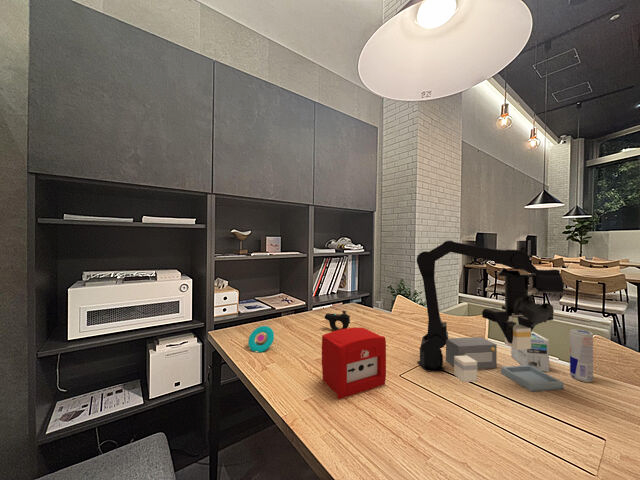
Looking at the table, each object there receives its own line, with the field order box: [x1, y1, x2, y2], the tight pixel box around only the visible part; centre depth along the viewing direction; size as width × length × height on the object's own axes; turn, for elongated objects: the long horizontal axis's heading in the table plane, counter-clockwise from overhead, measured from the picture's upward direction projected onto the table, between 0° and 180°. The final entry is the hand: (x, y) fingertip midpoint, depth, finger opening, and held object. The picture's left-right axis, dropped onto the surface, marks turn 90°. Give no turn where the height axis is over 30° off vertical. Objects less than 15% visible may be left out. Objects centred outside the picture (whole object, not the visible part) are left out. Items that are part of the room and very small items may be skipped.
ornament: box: [248, 325, 275, 353], centre depth 103 cm, size 11×4×10 cm
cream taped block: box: [504, 323, 531, 350], centre depth 78 cm, size 5×5×6 cm
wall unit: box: [445, 336, 498, 370], centre depth 90 cm, size 14×8×8 cm, turn 97°
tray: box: [500, 365, 565, 393], centre depth 79 cm, size 11×11×2 cm
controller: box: [324, 310, 351, 331], centre depth 122 cm, size 4×12×10 cm, turn 70°
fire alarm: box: [321, 327, 387, 400], centre depth 77 cm, size 16×11×15 cm
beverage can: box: [569, 328, 594, 383], centre depth 81 cm, size 5×5×15 cm
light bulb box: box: [510, 330, 550, 372], centre depth 91 cm, size 11×7×11 cm, turn 168°
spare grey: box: [453, 355, 478, 383], centre depth 81 cm, size 5×5×6 cm
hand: (517, 342), depth 78 cm, fingers closed on cream taped block, 4 cm apart
